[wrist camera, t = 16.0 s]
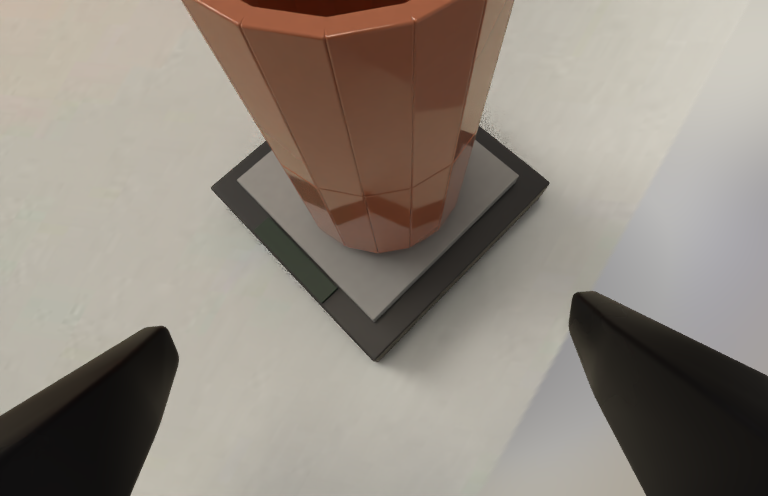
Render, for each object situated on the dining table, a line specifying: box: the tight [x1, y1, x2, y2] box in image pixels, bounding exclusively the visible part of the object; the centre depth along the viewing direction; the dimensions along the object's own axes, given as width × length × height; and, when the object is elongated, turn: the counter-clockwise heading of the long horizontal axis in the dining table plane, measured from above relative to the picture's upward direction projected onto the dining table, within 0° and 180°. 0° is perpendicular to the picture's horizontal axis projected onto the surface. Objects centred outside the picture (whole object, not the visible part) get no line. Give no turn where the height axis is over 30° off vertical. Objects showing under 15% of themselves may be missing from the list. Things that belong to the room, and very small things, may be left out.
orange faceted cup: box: [181, 0, 514, 253], centre depth 14 cm, size 7×7×13 cm
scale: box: [211, 126, 549, 362], centre depth 22 cm, size 12×12×3 cm
